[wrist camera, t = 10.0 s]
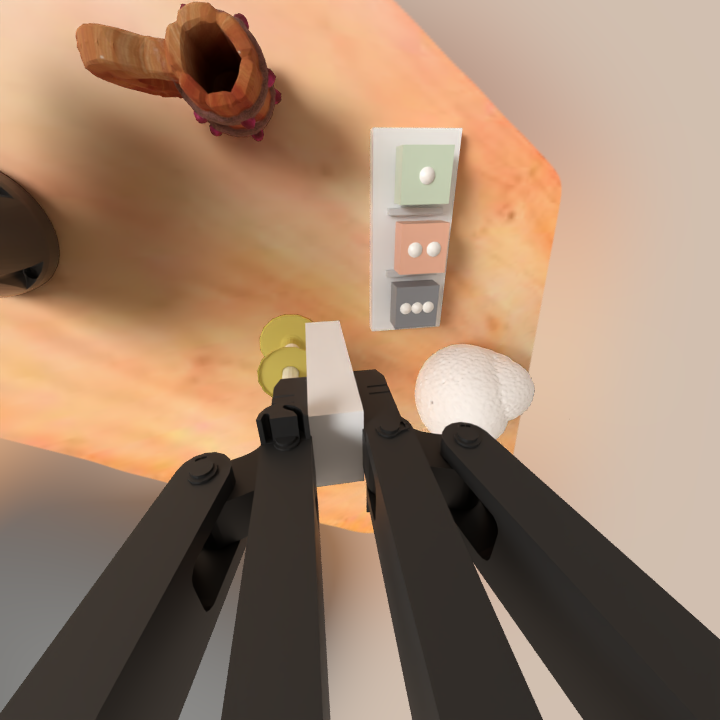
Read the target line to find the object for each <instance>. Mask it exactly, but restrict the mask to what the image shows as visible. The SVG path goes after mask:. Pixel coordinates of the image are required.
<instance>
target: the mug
mask: <svg viewBox="0 0 720 720" xmlns="http://www.w3.org/2000/svg"><path fill="white" fill-rule="evenodd" d="M248 29H249V25H248V22H247V19H246V18H245V16H244V15H242V14H240V13H238V14H235V15H234V17H233V16H232V15H230V14H228V13H226V12H224V11H221V10H217V9H215V8H214V7H213V6H212V5H211V4H209V3H204V2H192V3H189V4H187V5H186V4H181V7H180V10H178V15H177V21H176V22H174V23H172V24H169V25H168V27H167V29H166V35H165V39H161V38H153V37H150V36H142V35H139V34H136V33H132V32H129V31H126V30H123V29H119V28H115V27H111V26H106V25H101V24H93V23H89V24H83V25H81V26H80V27H79V28H78V29H77V31H76V39H77V48H78V50H79V52H80V54H81V59H82V61H83V63H84V66H85V68H86V69H87V70H89V71H90V72H91V73H92V74H93V75H95V76H97V77H99V78H101V79H103V80H106V81H108V82H111V83H113V84H116V85H119V86H122V87H125V88H129V89H133V90H137V91H141V92H145V93H149V94H153V95H160V96H162V97H179V98H183V99H184V100H185V101H186V102H187V103H188V104H189V105H190V106H191V107H192V109H193V110H194V115H195V118H196V120H197V121H198V122H199V123H206V122H207V121H208V122H209V123H210V131H211V133H212V134H213V135H215V136H220V135H222V133H226V134H228V135H231V136H236V137H247V136H252V137H253V138H254V139H255V140H256V141H261V140H262V139H263V136H264V133H263V128H264V127H265V126H266V125H267V124H268V122H269V120H270V118H271V116H272V113H273V110H274V106H275V104H278V103H279V102H280V101H281V93H280V92H279V91H278V90H277V89H275V88H274V85H273V84H274V82H275V78H276V76H275V75H274V73H273V72H272V70H270V69H269V68H267V66H266V62H265V58H264V56H263V53H262V51H261V48H260V46H259V44H258V43H257V41H256V39H255V38H254V36H253V35H252V34H251V32H250V31H249V30H248Z"/></svg>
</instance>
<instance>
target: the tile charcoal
mask: <svg viewBox="0 0 720 720" xmlns="http://www.w3.org/2000/svg"><path fill="white" fill-rule="evenodd" d="M439 288H440V285H439V284H437V283H436V282H435V281H434V280H432V279H431V280H414V281H396V282H391V308H390V322H391V324H392V325H393V327H394V328H395V329H405V328H418V327H431V326H435V325H436V316H437V307H438V298H439Z"/></svg>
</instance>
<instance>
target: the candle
mask: <svg viewBox="0 0 720 720" xmlns="http://www.w3.org/2000/svg"><path fill="white" fill-rule="evenodd" d="M305 323H312V321H311V320H310V319H308V318H305V317H303V316H300V315H292V314H285V315H282V316H279V317H277V318H274V319H272V320H271V321H270V322H269V323H268V324H267V325H266V326H265V327H264V328H263V331H262V333H261V336H260V350H261V352H262V354H263V355H264V358H263V359H262V361H261V363H260V365H259V368H258V371H257V372H258V382H259V384H260V385H261V387H262V389H263V390H264V392H266V393H267V394H268V395H270V396H271V397H272V398H273V390H274V387H275V385H276V384H277V383H278V382H279V380H280V379H286V378H297V377H307V365H306V332H305Z"/></svg>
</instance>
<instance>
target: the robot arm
mask: <svg viewBox="0 0 720 720" xmlns="http://www.w3.org/2000/svg"><path fill="white" fill-rule="evenodd" d="M58 261H59V245H58V240H57V236H56V233H55V231H54V228H53V226H52V224H51V222H50V220H49V218H48V217H47V215H46V214H45V212H44V211H43V209H42V208H41V207H40V205H39V204H38V203H37V202H36V201H35V200H34V199H33V197H32V196H31V195H30V194H29V193H28V192H26V191H25V190H24V189H23V188H22V187H21V186H20V185H18V184H17V183H16V182H14V181H13V180H12V179H10V178H9V177H7V176H6V175H4V174H3V173H1V172H0V297H10V296H16V295H20V294H23V293H25V292H28V291H30V290H33V289H35V288H38V287H39V286H41V285H43V284H44V283H46V282H47V281H48V280H49V279H50V278H51V277H52V275H53V274H54V272H55V270H56V268H57V265H58ZM305 332H306V365H307V377H297V378H286V379H280V380H279V382H278V383H277V384H276V385H275V387H274V390H273V398H272V405H271V406H269V407H267V408H265V409H264V410H263V411H262V412H261V413H260V414H259V415H258V417H257V419H256V422H257V427H258V432H259V437H260V441H261V446H260V447H259V448H257V449H256V450H254V451H253V452H251V453H249V454H247V455H245V456H242V457H239V458H236V459H234V460H231V461H230V459H229V458H228V457H227V456H226V455H225V454H221V453H217V452H212V453H204V454H201V455H198V456H195V457H193V458H192V459H190V460H188V461H187V462H185V463H184V464H183V465H182V466H181V467H180V468H179V469H178V470H177V471H176V473H175V474H174V475H173V477H172V478H171V480H170V481H169V482H168V484H167V485H166V487H165V488H164V489H163V491H162V492H161V493H160V495H159V496H158V497H157V499H156V500H155V502H154V503H153V504H152V506H151V507H150V508H149V510H148V511H147V513H146V514H145V515H144V517H143V518H142V519H141V521H140V522H139V523H138V525H137V526H136V528H135V529H134V530H133V532H132V533H131V534H130V536H129V537H128V539H127V540H126V541H125V543H124V544H123V546H122V547H121V548H120V550H119V551H118V552H117V554H116V555H115V557H114V558H113V559H112V561H111V562H110V563H109V565H108V566H107V567H106V569H105V570H104V572H103V573H102V574H101V576H100V577H99V578H98V580H97V581H96V583H95V584H94V586H93V587H92V588H91V590H90V591H89V592H88V594H87V595H86V596H85V598H84V599H83V600H82V602H81V603H80V605H79V606H78V607H77V609H76V610H75V611H74V613H73V614H72V616H71V617H70V618H69V620H68V621H67V623H66V624H65V625H64V627H63V628H62V630H61V631H60V632H59V633H58V635H57V636H56V637H55V639H54V640H53V642H52V643H51V644H50V646H49V647H48V648H47V650H46V651H45V653H44V654H43V655H42V657H41V658H40V659H39V661H38V662H37V664H36V665H35V666H34V668H33V669H32V670H31V672H30V673H29V675H28V676H27V677H26V679H25V680H24V682H23V683H22V684H21V686H20V687H19V688H18V690H17V691H16V693H15V694H14V695H13V697H12V698H11V699H10V701H9V702H8V703H7V705H6V706H5V708H4V709H3V710H2V712H1V713H0V720H178V719H179V716H180V713H181V711H182V708H183V706H184V703H185V701H186V698H187V695H188V693H189V690H190V688H191V685H192V683H193V680H194V678H195V675H196V672H197V670H198V667H199V665H200V662H201V660H202V657H203V654H204V652H205V650H206V647H207V644H208V642H209V639H210V637H211V634H212V632H213V629H214V627H215V624H216V622H217V618H218V616H219V614H220V611H221V609H222V606H223V603H224V601H225V599H226V596H227V593H228V591H229V588H230V585H231V583H232V580H233V578H234V576H235V573H236V570H237V568H238V565H239V563H240V560H241V557H242V555H243V552H244V550H245V547H246V553H245V559H244V566H243V573H242V580H241V586H240V593H239V600H238V607H237V614H236V621H235V628H234V635H233V641H232V648H231V655H230V663H229V669H228V676H227V683H226V689H225V696H224V703H223V710H222V717H221V720H330V705H329V687H328V670H327V654H326V653H327V652H326V634H325V617H324V599H323V581H322V564H321V546H320V529H319V510H318V498H317V487H321V486H328V485H335V484H343V483H350V482H357V481H364V474H365V478H366V483H367V512H370V515H371V520H372V525H373V529H374V534H375V539H376V544H377V549H378V554H379V559H380V564H381V568H382V574H383V578H384V583H385V588H386V593H387V597H388V603H389V608H390V613H391V618H392V622H393V627H394V632H395V637H396V642H397V647H398V652H399V657H400V662H401V666H402V671H403V676H404V681H405V686H406V691H407V696H408V701H409V706H410V710H411V715H412V720H543V719H542V717H541V714H540V712H539V710H538V708H537V706H536V703H535V701H534V699H533V697H532V694H531V692H530V690H529V688H528V685H527V683H526V681H525V678H524V676H523V674H522V672H521V669H520V667H519V665H518V663H517V661H516V658H515V656H514V654H513V652H512V649H511V647H510V645H509V643H508V640H507V638H506V636H505V634H504V631H503V629H502V627H501V625H500V622H499V620H498V618H497V616H496V613H495V611H494V609H493V607H492V605H491V602H490V600H489V598H488V596H487V593H486V591H485V589H484V587H483V584H482V582H481V580H480V578H479V575H478V573H477V571H476V569H475V566H476V567H477V569H478V570H479V571H480V573H481V574H482V576H483V577H484V579H485V580H486V582H487V583H488V584H489V586H490V587H491V589H492V590H493V592H494V593H495V594H496V596H497V597H498V599H499V600H500V601H501V603H502V604H503V605H504V607H505V609H506V610H507V611H508V613H509V614H510V616H511V617H512V619H513V620H514V621H515V623H516V624H517V626H518V627H519V629H520V630H521V631H522V633H523V634H524V636H525V637H526V639H527V640H528V641H529V643H530V644H531V646H532V647H533V648H534V650H535V651H536V653H537V654H538V656H539V657H540V658H541V660H542V661H543V663H544V664H545V665H546V667H547V668H548V670H549V671H550V673H551V674H552V675H553V677H554V678H555V680H556V681H557V683H558V684H559V685H560V687H561V688H562V690H563V691H564V693H565V694H566V695H567V697H568V698H569V700H570V701H571V702H572V704H573V705H574V707H575V708H576V710H577V711H578V713H579V714H580V715H581V717H582V718H583V720H720V639H719V638H718V637H717V636H715V635H714V634H713V633H712V632H711V631H710V630H708V628H707V627H705V626H704V625H703V624H702V623H701V622H700V621H699V620H698V619H696V618H695V617H694V616H693V615H692V614H691V613H690V612H689V611H687V610H686V609H685V608H684V607H683V606H682V605H681V604H680V603H678V602H677V601H676V600H675V599H674V598H673V597H672V596H671V595H669V594H668V593H667V592H666V591H665V590H664V589H663V588H662V587H660V586H659V585H658V584H657V583H656V582H655V581H654V580H653V579H652V578H650V577H649V576H648V575H647V574H646V573H644V571H642V570H641V569H640V568H639V567H638V566H637V565H636V564H635V563H633V562H632V561H631V560H630V559H629V558H628V557H627V556H626V555H625V554H623V553H622V552H621V551H620V550H619V549H618V548H617V547H615V546H614V545H613V544H612V543H611V542H610V541H609V540H608V539H606V537H604V536H603V535H602V534H601V533H600V532H599V531H598V530H597V529H595V528H594V527H593V526H592V525H591V524H590V523H589V522H588V521H586V520H585V519H584V518H583V517H582V516H581V515H580V514H578V513H577V512H576V511H575V510H574V509H573V508H572V507H571V506H570V505H568V504H567V503H566V502H565V501H564V500H563V499H562V498H560V497H559V496H558V495H557V494H556V493H555V492H554V491H553V490H552V489H550V488H549V487H548V486H547V485H546V484H545V483H544V482H542V481H541V480H540V479H539V478H538V477H537V476H536V475H535V474H533V472H531V471H530V470H529V469H528V468H527V467H526V466H525V465H524V464H522V463H521V462H520V461H519V460H518V459H517V458H516V457H515V456H513V455H512V454H511V453H510V452H509V451H508V450H507V449H506V448H504V447H503V446H502V445H501V444H500V443H499V442H498V441H497V440H496V439H494V438H493V437H492V436H491V435H490V434H489V433H488V432H487V431H485V430H484V429H482V428H481V427H479V426H477V425H474V424H471V423H465V422H457V423H451V424H450V425H448V426H446V427H445V428H444V430H443V431H442V434H435V433H427V432H422V431H418V430H416V429H413V427H412V426H411V424H410V423H409V422H408V421H407V420H405V419H404V418H402V417H401V416H400V413H399V411H398V409H397V406H396V404H395V402H394V399H393V397H392V394H391V393H390V390H389V387H388V386H387V383H386V380H385V378H384V376H383V375H382V374H381V373H379V372H378V371H377V370H376V369H374V370H363V371H353V370H352V366H351V362H350V359H349V355H348V351H347V348H346V344H345V340H344V337H343V333H342V329H341V326H340V322H339V321H326V322H312V323H305ZM473 563H474V564H475V566H474V564H473Z"/></svg>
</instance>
